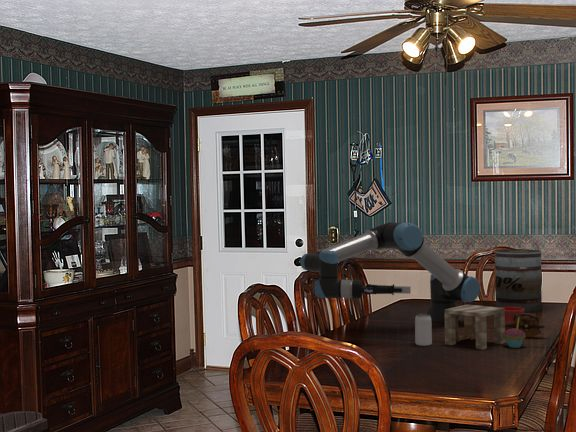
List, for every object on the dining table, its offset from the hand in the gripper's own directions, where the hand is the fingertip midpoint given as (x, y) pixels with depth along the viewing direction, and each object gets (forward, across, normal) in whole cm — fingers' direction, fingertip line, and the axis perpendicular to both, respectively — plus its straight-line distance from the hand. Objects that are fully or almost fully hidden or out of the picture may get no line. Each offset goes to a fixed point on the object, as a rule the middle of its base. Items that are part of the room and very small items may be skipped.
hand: (410, 289), depth 318 cm
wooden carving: (+46, -17, -21) cm, 53 cm away
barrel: (+49, -93, -21) cm, 108 cm away
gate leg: (+21, -7, -21) cm, 31 cm away
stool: (+25, -2, -21) cm, 33 cm away
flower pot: (+42, -33, -21) cm, 57 cm away
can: (+5, +2, -22) cm, 23 cm away
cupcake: (+40, +3, -22) cm, 46 cm away
